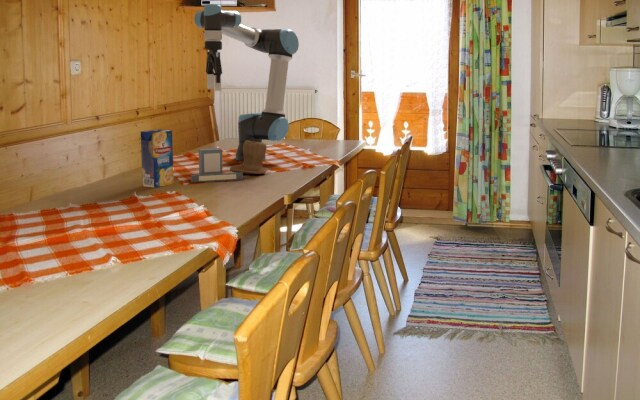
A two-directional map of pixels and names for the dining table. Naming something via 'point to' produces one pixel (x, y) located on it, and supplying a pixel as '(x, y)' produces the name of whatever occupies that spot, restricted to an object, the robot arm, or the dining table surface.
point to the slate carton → (210, 161)
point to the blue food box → (157, 158)
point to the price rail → (216, 177)
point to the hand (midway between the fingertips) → (214, 89)
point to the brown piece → (251, 158)
